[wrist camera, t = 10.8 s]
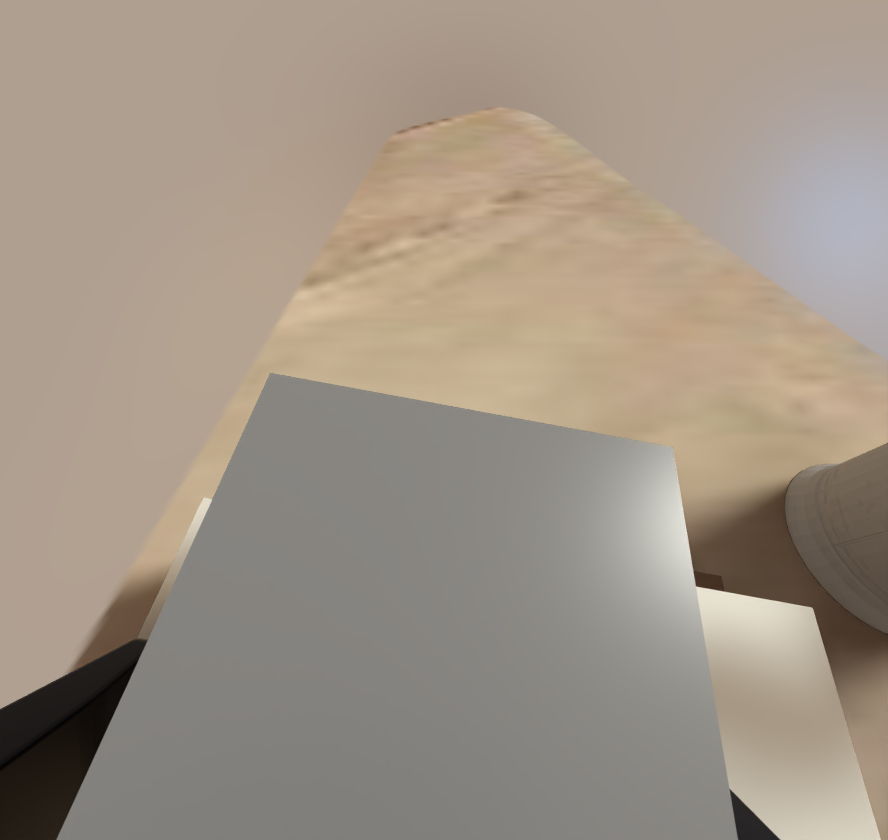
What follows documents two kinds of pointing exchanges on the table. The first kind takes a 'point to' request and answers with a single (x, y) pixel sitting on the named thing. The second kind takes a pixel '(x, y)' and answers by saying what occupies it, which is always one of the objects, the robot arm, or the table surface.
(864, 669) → the table surface
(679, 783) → the block
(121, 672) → the robot arm
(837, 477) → the glass holder
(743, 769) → the board
